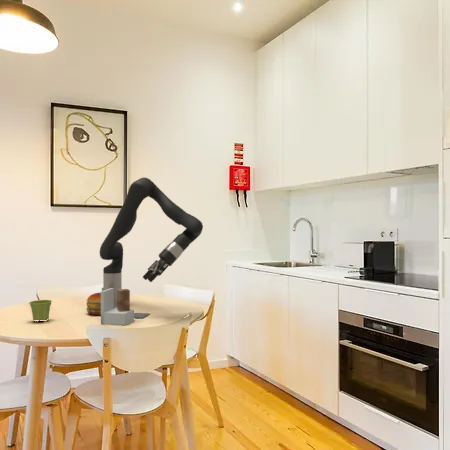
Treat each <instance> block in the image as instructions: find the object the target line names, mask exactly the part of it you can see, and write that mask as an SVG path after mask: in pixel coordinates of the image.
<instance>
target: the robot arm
mask: <svg viewBox="0 0 450 450" xmlns="http://www.w3.org/2000/svg"><path fill="white" fill-rule="evenodd" d="M148 197H149V198H150V199H152V200H154V201H155V202H156V203H157V204H158V205H159V207H160V209H161V210H162V213H163V214H165V215H166V217H167V218H168V219H170V220H171V221H173V222H174V223H175V224H177V225H179V226H180V225H181V226H182V227H184V228H185V229H184V230H183V232H181V233H179V234H177V236H176V237H175V238H173V240H172V241H171V242H170V243H168V244H167V245H166V247H164V249H162V251H160V253H159V254H158V257H159V260H155V261H154V262H153V263H152V264H151V265H150V266H149V267H148V268H147V271H146V272H145V274H144V275H143V276H142V278H143V279H144V280H145V281H147V280H148V281H149V282H150V283H152V282H154V280H156V278H157V277H159V276H161V275H162V274H163V273H164V272H165V271H166V269H168V267H172V266H173V264H174V263H175V262H176V261H177V260H178V259H179V258H180V257H181V255H182V254H183V252H185V250H187V249H188V247H189V246H190V244H192V243H193V242H194V241H195V240H196V239H197V238H199V236H201V234H202V232H203V228H204V226H203V222H202V221H201V220H200V219H199V218H197V217H196V216H194V215H192V214H190V213H188V212H187V211H185V210H184V209H183V208H181V207H180V206H178V204H176V203H175V202H174V201H172V200H171V198H169V197H168V196H167V195H166V193H164V191H162V190H161V189H160V188H159V187H158V186H157V185H156V184H155V183H154V181H153V180H151V179H150V178H148V177H139V179H137V180H134V181H133V182H132V183H131V184H130V185H129V188H128V191H127V194H126V197H125V200H124V203H123V204H122V206H121V208H120V210H119V212H118V213H117V216H116V218H115V220H114V223H113V225H112V227H111V228H110V230H109V232H108V234H107V236H106V237H105V238H104V240H103V241H102V243H101V244H100V245H101V246H100V248H99V257H100V258H101V259H102V260H104V261H111V262H110V263H109V264H108V265H106V266H105V267H103V270H102V271H103V272H102V273H103V275H102V276H103V277H102V278H103V282H102V283H103V286H102V288H101V291H104V290H107V289H110V288H114V302H115V303H114V307H115V308H116V307H117V290H118V289H123V288H122V286H123V285H122V284H123V283H122V282H123V281H122V278H123V277H122V276H123V275H122V272H123V271H122V269H123V265H124V264H123V262H124V261H123V260H124V249H123V248H124V246H123V244H122V243H121V242H119V241H120V240H121V239H123V238H125V236H127V235H128V234H129V233H131V231H132V229H133V227H134V225H135V224H136V221H137V216H138V214H137V213H138V210H139V208H140V206H141V204H142V202H143V201H144V200H145V199H146V198H148Z"/></svg>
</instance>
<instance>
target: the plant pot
mask: <svg viewBox="0 0 450 450" xmlns="http://www.w3.org/2000/svg"><path fill="white" fill-rule="evenodd" d="M52 302H53V300H51V299H37V300H32V301H30V302H28V304H29V305H30V306H29V307H30V308H31V314H32V320H39V321H40V320H47V319H48V320H49V318H50V310H51V305H52Z"/></svg>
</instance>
